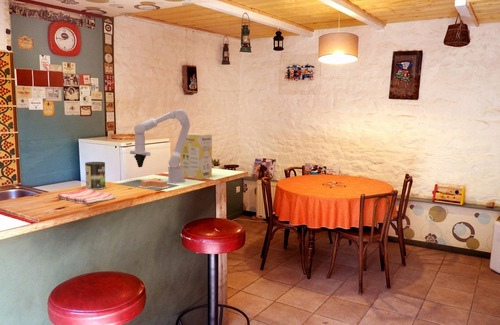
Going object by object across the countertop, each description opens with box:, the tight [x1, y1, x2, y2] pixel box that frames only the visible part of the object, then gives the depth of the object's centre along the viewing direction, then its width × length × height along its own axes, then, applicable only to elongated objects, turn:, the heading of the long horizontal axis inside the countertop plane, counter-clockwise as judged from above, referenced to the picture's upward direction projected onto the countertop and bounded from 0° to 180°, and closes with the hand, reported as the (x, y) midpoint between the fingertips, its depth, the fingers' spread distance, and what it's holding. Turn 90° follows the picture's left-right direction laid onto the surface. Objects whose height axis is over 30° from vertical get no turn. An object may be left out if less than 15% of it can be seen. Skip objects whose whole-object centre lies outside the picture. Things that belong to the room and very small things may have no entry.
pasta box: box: [179, 132, 213, 180], centre depth 270 cm, size 18×10×28 cm, turn 53°
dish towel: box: [57, 187, 117, 205], centre depth 204 cm, size 17×23×4 cm
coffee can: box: [84, 161, 106, 191], centre depth 228 cm, size 10×10×14 cm
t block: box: [141, 177, 168, 188], centre depth 236 cm, size 12×12×3 cm
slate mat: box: [117, 179, 179, 192], centre depth 240 cm, size 18×31×1 cm, turn 60°
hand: (140, 167), depth 246 cm, fingers closed
